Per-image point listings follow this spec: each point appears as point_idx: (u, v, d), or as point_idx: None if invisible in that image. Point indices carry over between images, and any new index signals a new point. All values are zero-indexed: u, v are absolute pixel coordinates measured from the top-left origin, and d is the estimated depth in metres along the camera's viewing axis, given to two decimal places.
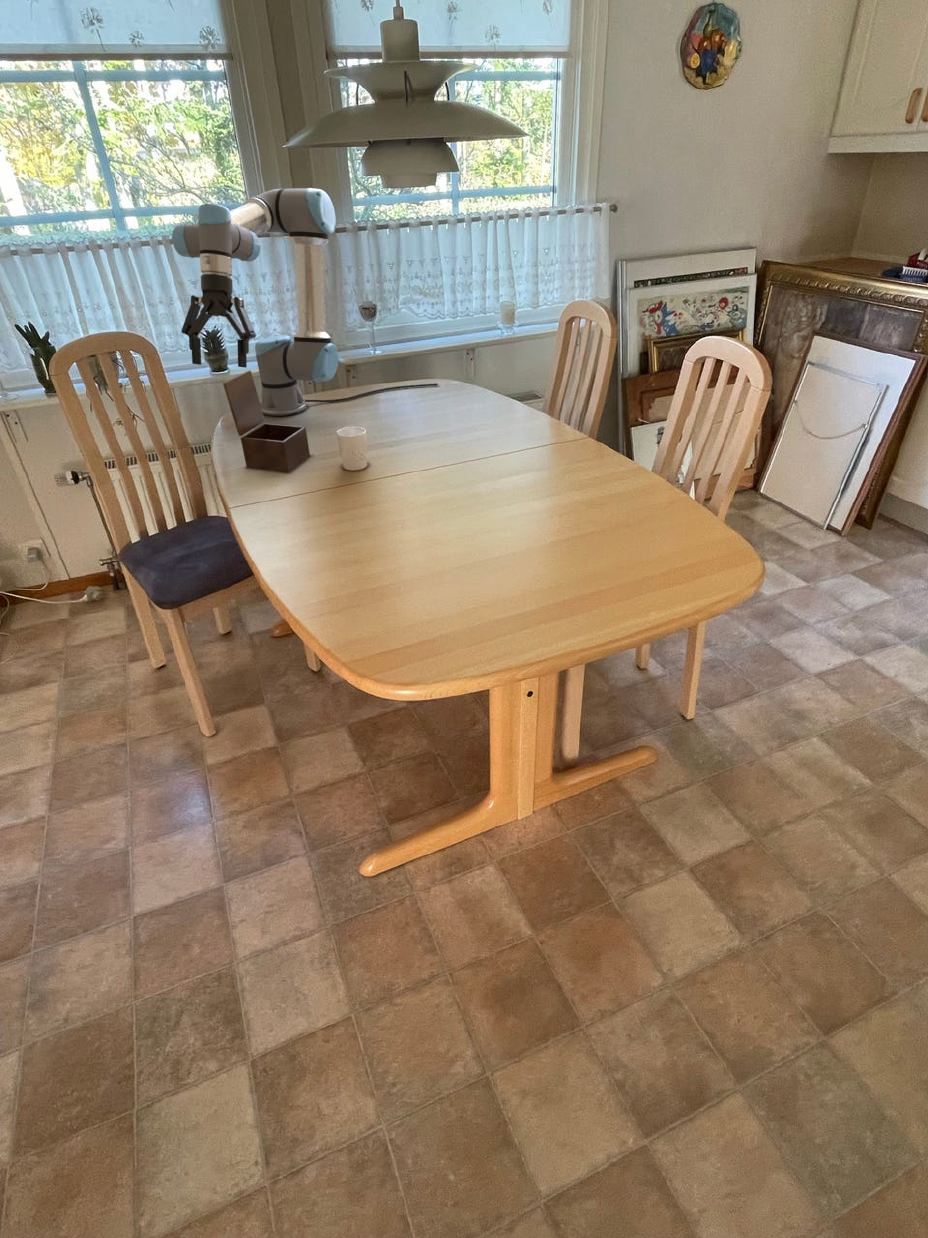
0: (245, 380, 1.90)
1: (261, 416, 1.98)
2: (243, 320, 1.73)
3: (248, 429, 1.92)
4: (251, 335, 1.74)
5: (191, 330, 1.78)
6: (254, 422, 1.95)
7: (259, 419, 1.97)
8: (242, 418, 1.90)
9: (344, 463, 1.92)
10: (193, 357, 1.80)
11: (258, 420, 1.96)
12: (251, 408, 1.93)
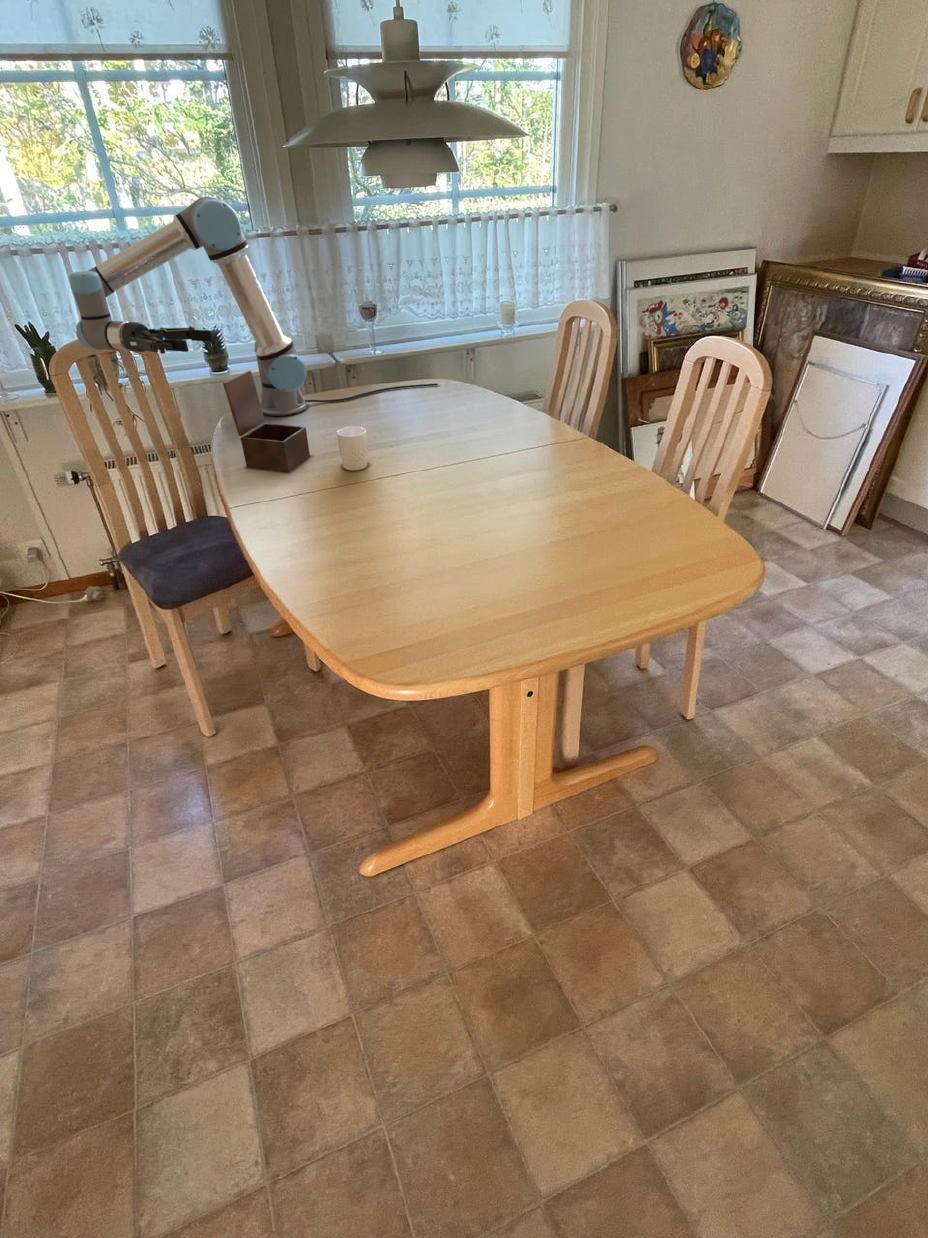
0: (245, 380, 1.90)
1: (261, 416, 1.98)
2: None
3: (248, 429, 1.92)
4: (154, 349, 1.80)
5: None
6: (254, 422, 1.95)
7: (259, 419, 1.97)
8: (242, 418, 1.90)
9: (344, 463, 1.92)
10: None
11: (258, 420, 1.96)
12: (251, 408, 1.93)
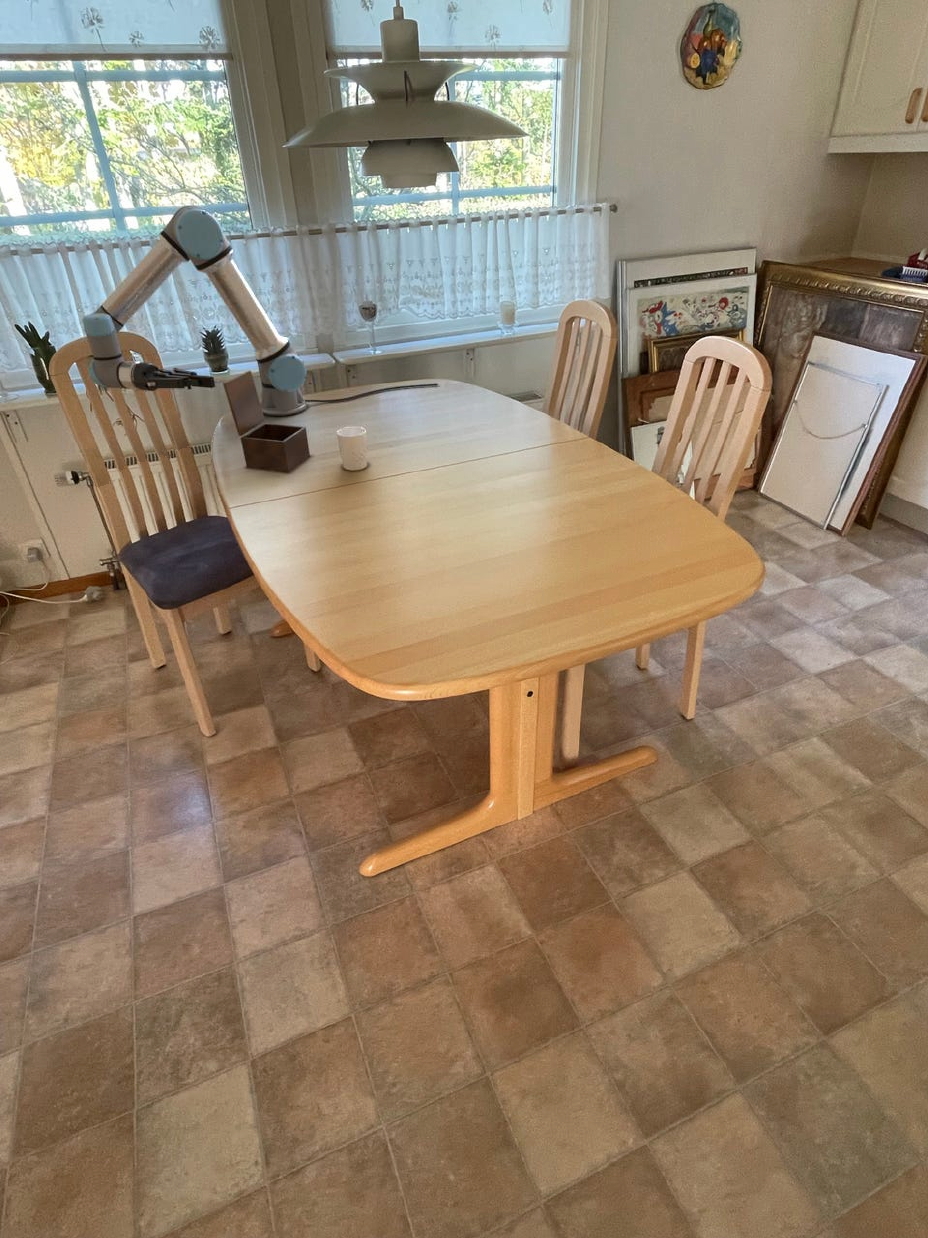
0: (245, 380, 1.90)
1: (261, 416, 1.98)
2: None
3: (248, 429, 1.92)
4: (183, 386, 1.90)
5: None
6: (254, 422, 1.95)
7: (259, 419, 1.97)
8: (242, 418, 1.90)
9: (344, 463, 1.92)
10: None
11: (258, 420, 1.96)
12: (251, 408, 1.93)
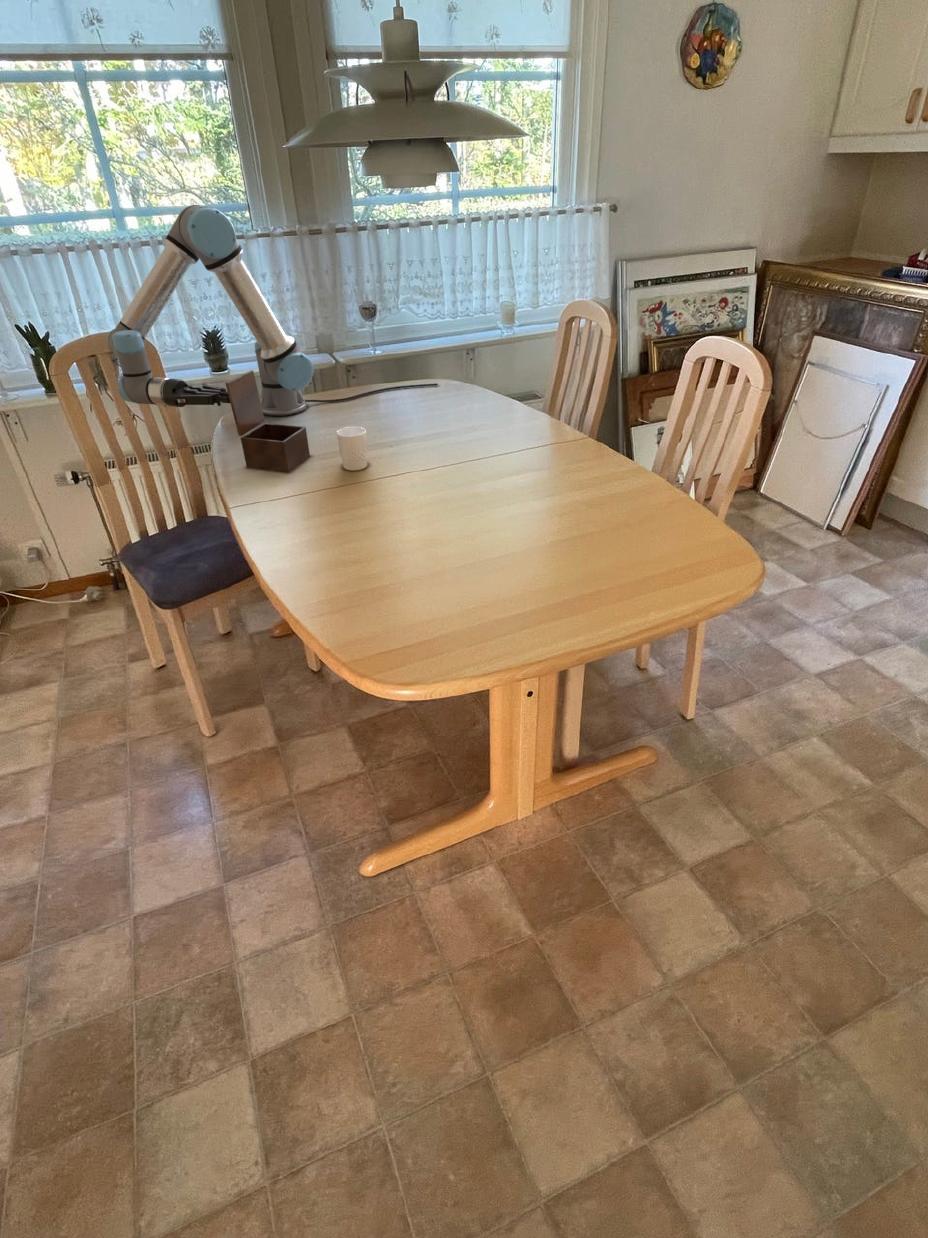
0: (247, 380, 1.89)
1: (261, 416, 1.98)
2: None
3: (248, 429, 1.92)
4: (213, 402, 1.90)
5: None
6: (254, 422, 1.95)
7: (259, 419, 1.97)
8: (243, 418, 1.90)
9: (344, 463, 1.92)
10: None
11: (258, 420, 1.96)
12: (252, 408, 1.93)
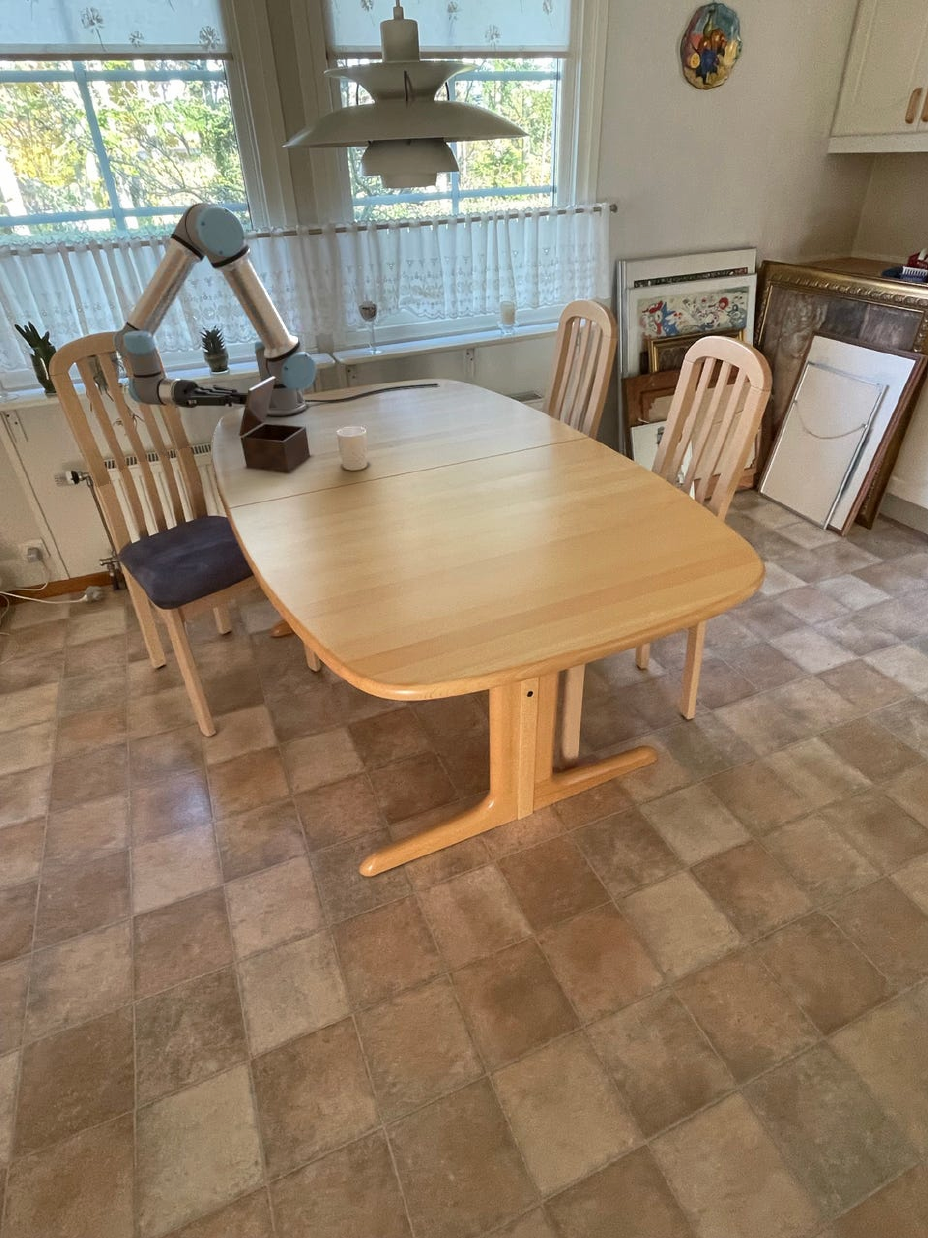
0: (267, 387, 1.89)
1: (264, 418, 1.98)
2: None
3: (249, 430, 1.92)
4: (224, 403, 1.89)
5: None
6: (256, 423, 1.95)
7: (261, 420, 1.97)
8: (249, 421, 1.89)
9: (344, 463, 1.92)
10: None
11: (260, 421, 1.96)
12: (260, 411, 1.93)
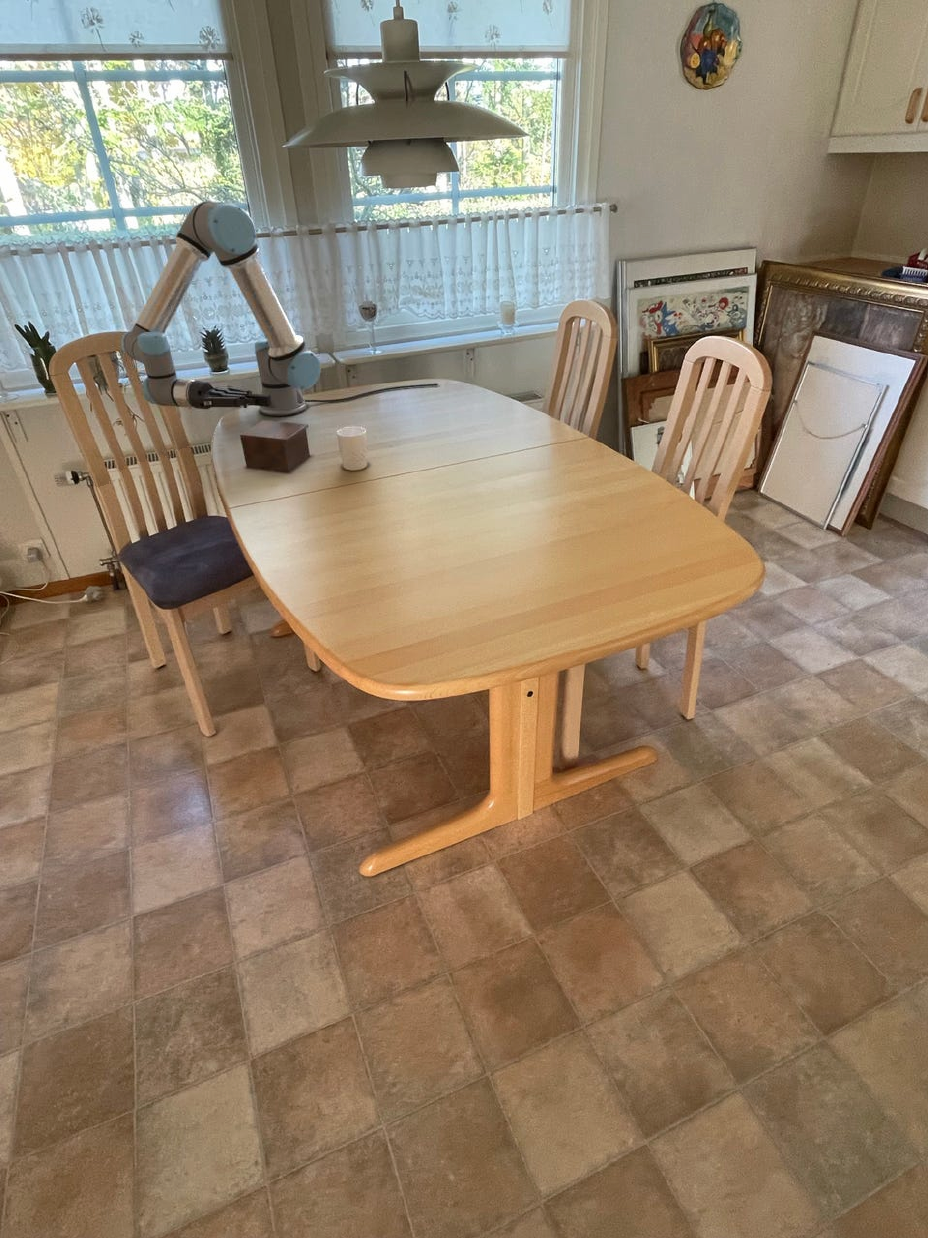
0: None
1: None
2: None
3: None
4: (239, 404, 1.88)
5: None
6: None
7: None
8: None
9: (344, 463, 1.92)
10: None
11: None
12: None
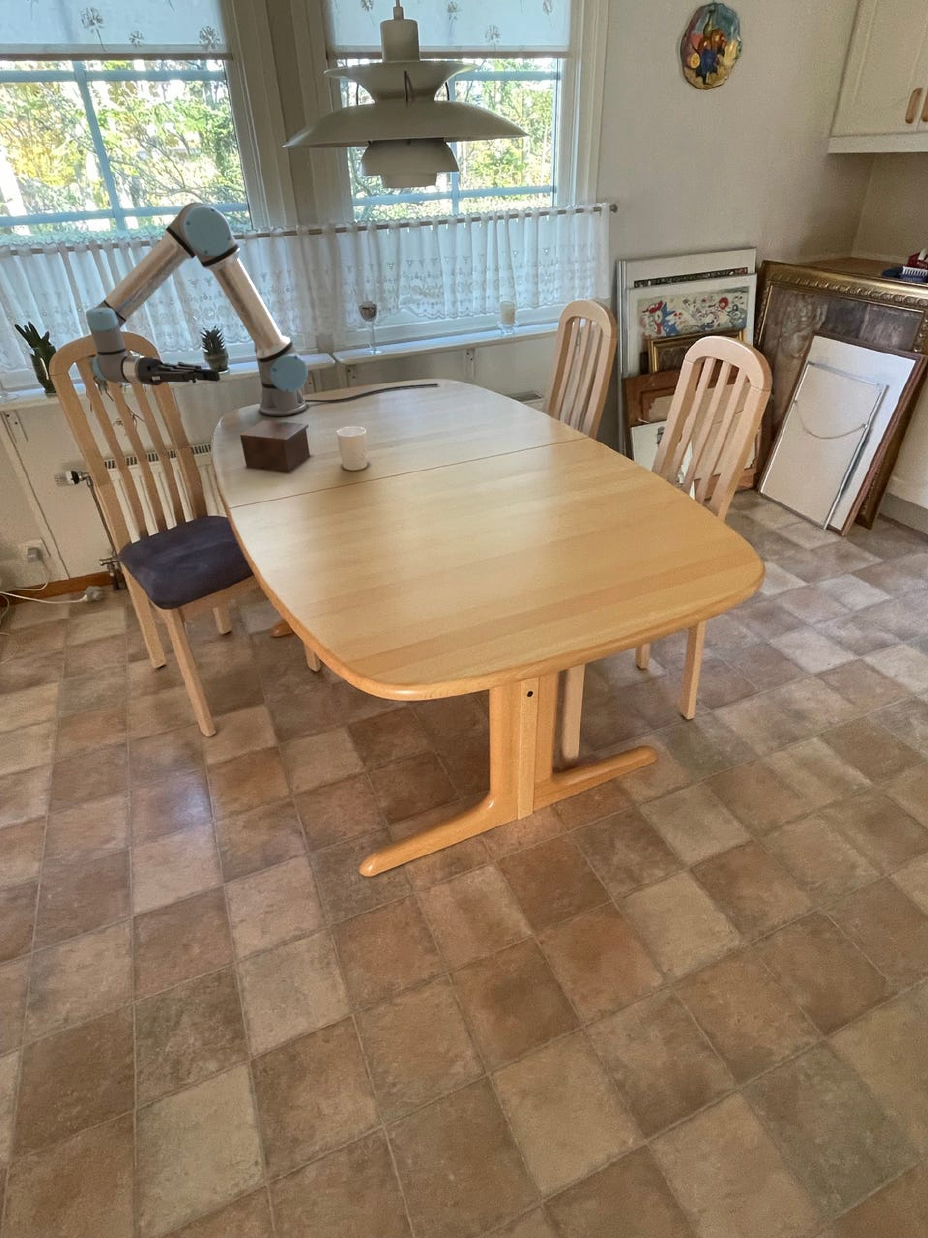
0: None
1: None
2: None
3: None
4: (187, 379, 1.88)
5: None
6: None
7: None
8: None
9: (344, 463, 1.92)
10: None
11: None
12: None
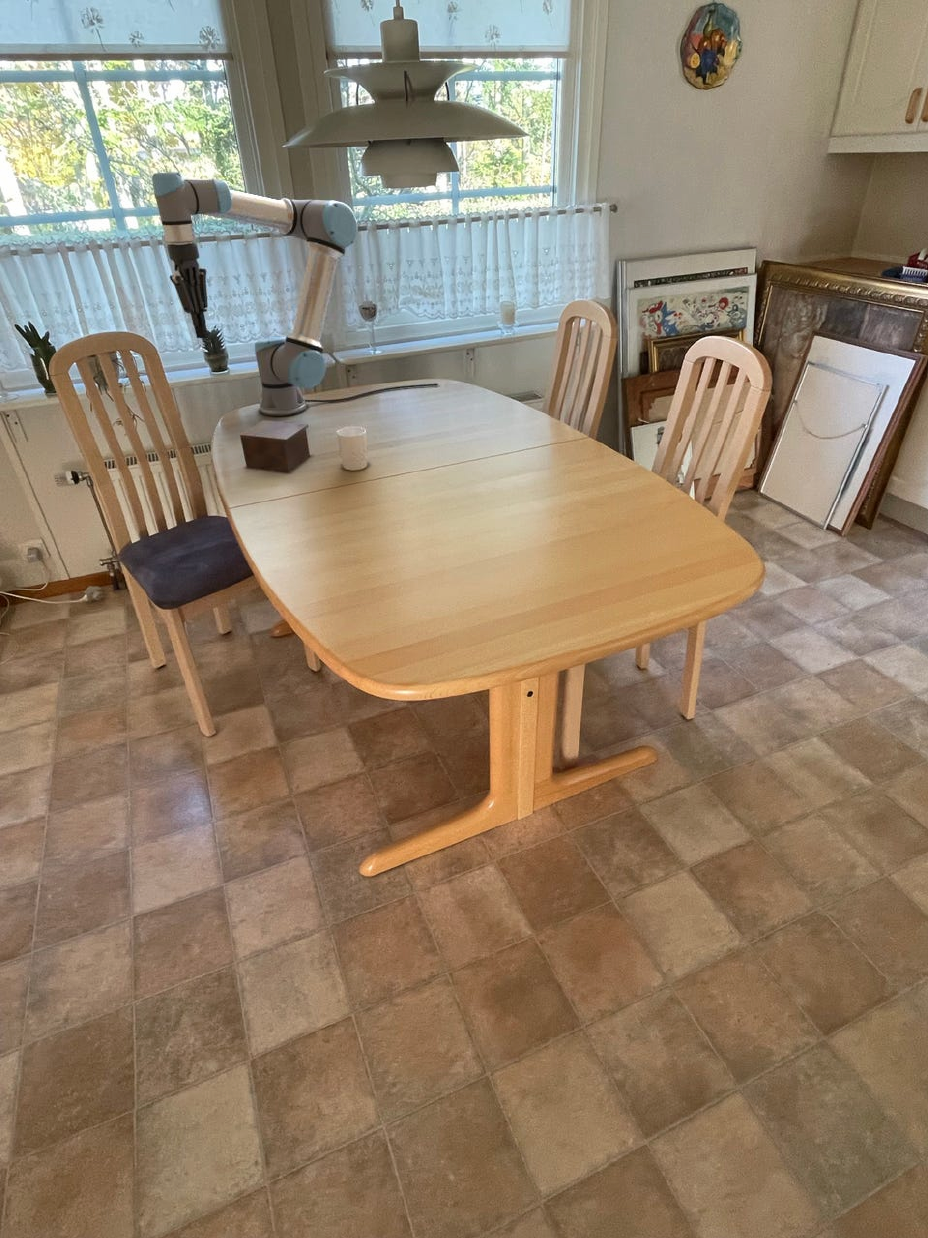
0: None
1: None
2: None
3: None
4: (186, 311, 1.88)
5: None
6: None
7: None
8: None
9: (344, 463, 1.92)
10: None
11: None
12: None
